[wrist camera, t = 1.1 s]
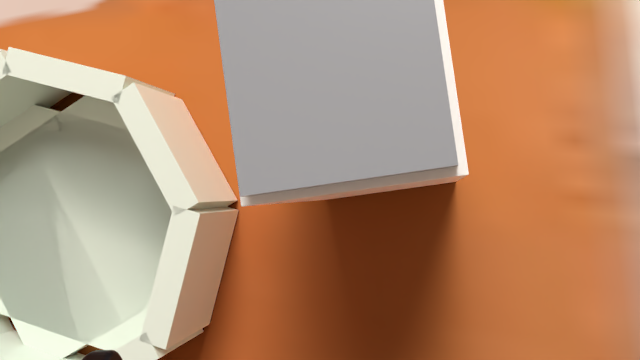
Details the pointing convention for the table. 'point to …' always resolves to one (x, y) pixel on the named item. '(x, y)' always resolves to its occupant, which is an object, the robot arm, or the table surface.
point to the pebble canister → (339, 97)
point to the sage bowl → (104, 214)
